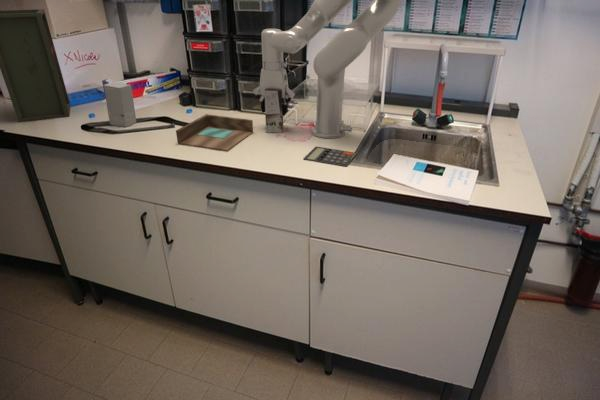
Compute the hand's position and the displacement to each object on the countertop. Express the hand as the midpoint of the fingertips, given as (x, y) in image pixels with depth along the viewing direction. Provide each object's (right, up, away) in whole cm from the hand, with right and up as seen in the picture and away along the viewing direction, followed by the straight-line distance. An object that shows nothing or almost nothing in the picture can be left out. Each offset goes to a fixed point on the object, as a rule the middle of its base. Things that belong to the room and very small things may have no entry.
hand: (274, 112), depth 158 cm
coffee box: (0, -6, +3) cm, 7 cm away
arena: (-21, -11, -6) cm, 24 cm away
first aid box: (-100, +4, +20) cm, 102 cm away
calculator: (+20, -20, -20) cm, 35 cm away
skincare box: (-61, -3, +8) cm, 61 cm away
